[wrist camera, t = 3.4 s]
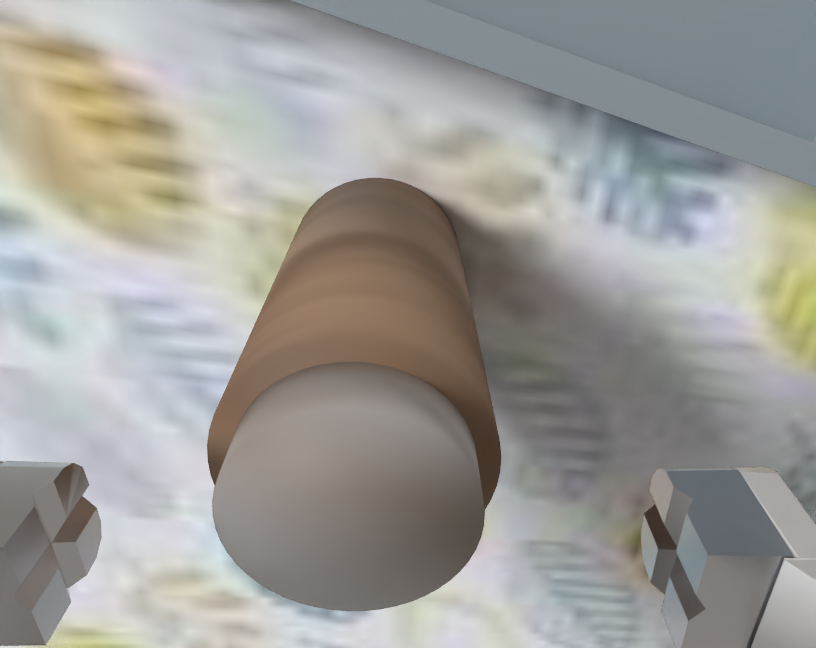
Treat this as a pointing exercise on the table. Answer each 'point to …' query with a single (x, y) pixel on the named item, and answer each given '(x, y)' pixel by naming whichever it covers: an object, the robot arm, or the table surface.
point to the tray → (640, 62)
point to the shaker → (358, 411)
